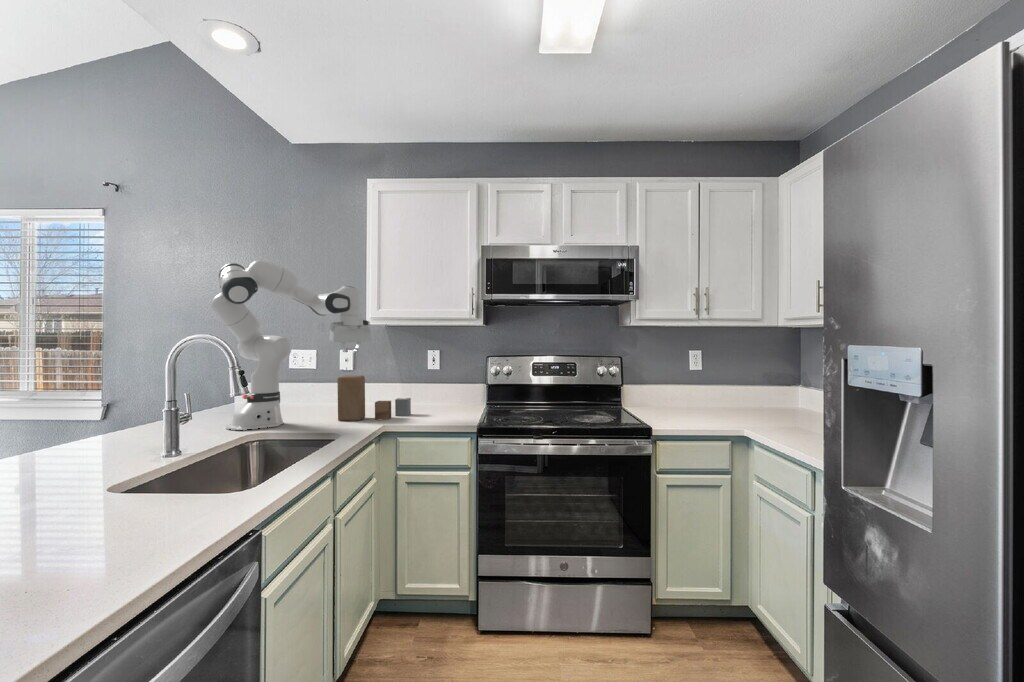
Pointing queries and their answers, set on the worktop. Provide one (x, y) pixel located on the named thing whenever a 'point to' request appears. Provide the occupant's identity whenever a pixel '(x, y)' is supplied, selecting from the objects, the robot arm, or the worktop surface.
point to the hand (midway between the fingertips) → (350, 351)
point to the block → (351, 397)
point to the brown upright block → (383, 410)
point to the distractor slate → (402, 406)
